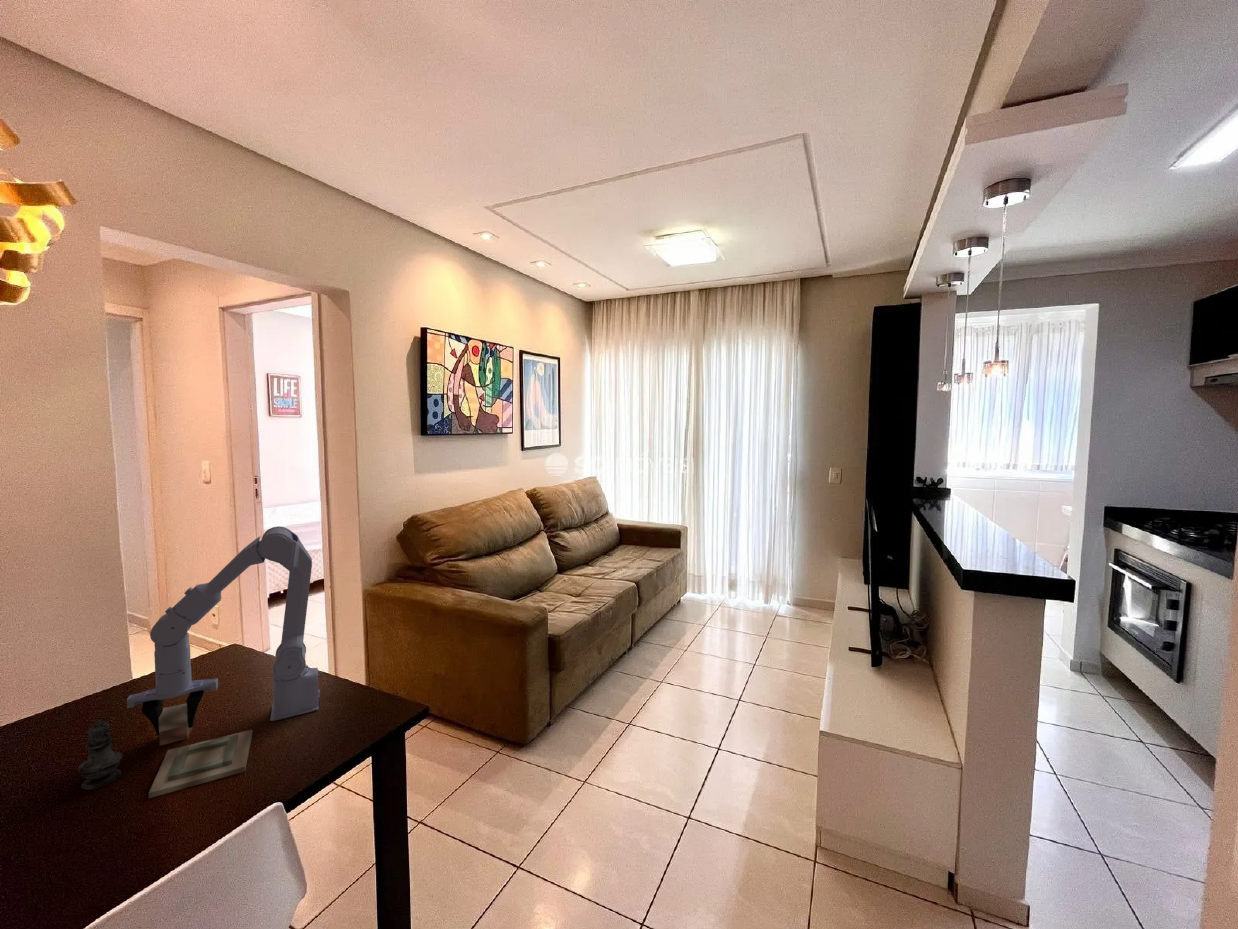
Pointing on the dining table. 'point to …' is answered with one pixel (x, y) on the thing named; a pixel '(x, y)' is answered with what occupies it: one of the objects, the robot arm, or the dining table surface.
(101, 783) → the dark grey chess piece
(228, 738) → the pocket board
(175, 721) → the brown and beige block
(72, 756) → the dining table surface
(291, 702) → the robot arm
